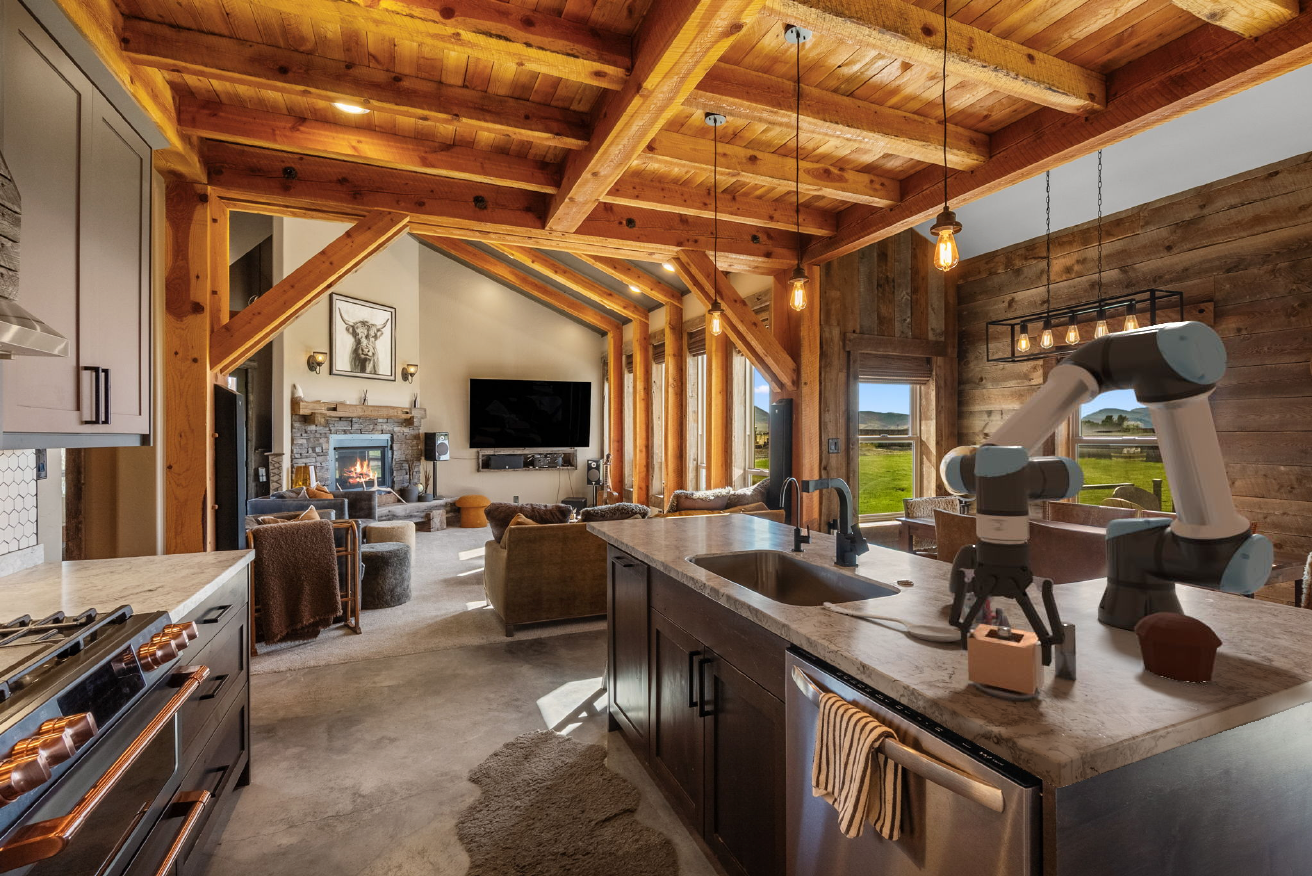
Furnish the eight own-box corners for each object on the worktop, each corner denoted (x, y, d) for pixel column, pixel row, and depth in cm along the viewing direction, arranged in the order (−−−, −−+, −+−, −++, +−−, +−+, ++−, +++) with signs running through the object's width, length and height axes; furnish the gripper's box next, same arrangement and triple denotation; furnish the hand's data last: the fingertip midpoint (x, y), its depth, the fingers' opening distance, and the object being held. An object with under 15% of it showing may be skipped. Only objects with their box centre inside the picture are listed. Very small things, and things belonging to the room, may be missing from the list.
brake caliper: (1030, 635, 116) (987, 584, 119) (980, 664, 119) (939, 613, 122) (1017, 618, 127) (977, 572, 129) (971, 646, 130) (934, 599, 132)
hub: (1001, 675, 103) (1000, 617, 103) (1051, 695, 95) (1050, 632, 95) (961, 683, 100) (960, 623, 100) (1009, 705, 91) (1008, 640, 92)
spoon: (974, 643, 120) (974, 630, 120) (952, 650, 115) (952, 637, 115) (835, 610, 149) (835, 600, 149) (814, 615, 144) (813, 604, 145)
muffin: (1118, 663, 107) (1116, 608, 107) (1165, 657, 110) (1164, 603, 110) (1190, 690, 96) (1189, 628, 96) (1241, 683, 98) (1240, 622, 98)
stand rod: (1063, 671, 104) (1062, 620, 104) (1080, 678, 101) (1079, 625, 101) (1051, 674, 103) (1049, 622, 103) (1068, 681, 100) (1067, 627, 100)
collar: (981, 663, 104) (980, 623, 104) (1042, 676, 98) (1041, 633, 98) (968, 680, 97) (967, 637, 97) (1033, 694, 91) (1032, 649, 91)
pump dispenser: (1006, 612, 140) (1004, 547, 140) (961, 612, 140) (960, 548, 140) (982, 600, 150) (981, 540, 150) (941, 601, 150) (940, 541, 150)
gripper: (925, 536, 102) (928, 668, 101) (1081, 550, 88) (1084, 703, 87) (938, 531, 107) (940, 655, 107) (1086, 543, 93) (1089, 686, 93)
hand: (1005, 677), depth 97 cm, fingers closed on collar, 9 cm apart
